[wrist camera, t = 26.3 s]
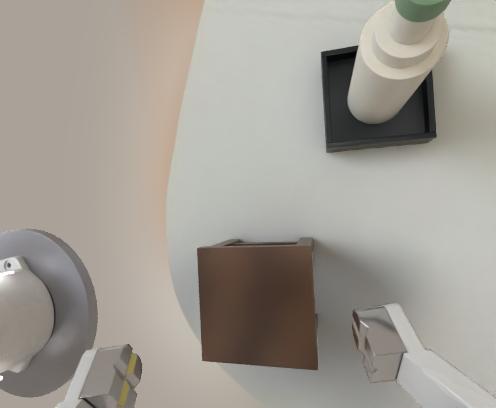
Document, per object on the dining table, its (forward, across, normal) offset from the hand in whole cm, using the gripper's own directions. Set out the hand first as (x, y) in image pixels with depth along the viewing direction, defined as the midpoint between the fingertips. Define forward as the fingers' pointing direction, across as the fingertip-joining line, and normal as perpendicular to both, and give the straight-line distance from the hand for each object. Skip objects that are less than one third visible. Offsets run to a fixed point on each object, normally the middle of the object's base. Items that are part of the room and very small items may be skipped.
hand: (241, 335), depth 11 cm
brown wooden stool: (+19, -1, +20) cm, 27 cm away
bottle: (+27, -16, +2) cm, 32 cm away
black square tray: (+28, -16, +3) cm, 33 cm away
